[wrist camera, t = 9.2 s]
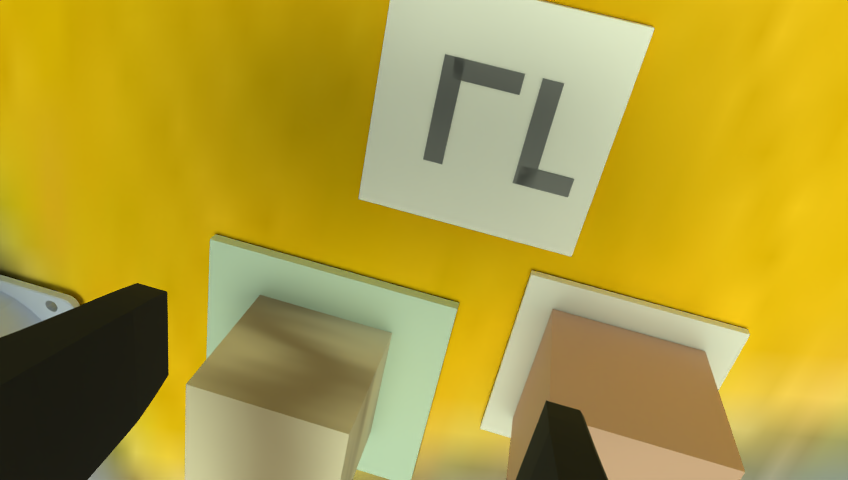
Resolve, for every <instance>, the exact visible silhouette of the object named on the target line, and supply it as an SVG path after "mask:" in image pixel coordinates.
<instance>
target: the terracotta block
mask: <svg viewBox="0 0 848 480" xmlns="http://www.w3.org/2000/svg"><path fill="white" fill-rule="evenodd" d="M546 401H550V402H553V403H557V404H560V405H564V406H567V407H571V408H574V409H578V410H580V411H581V412H582V414H583V416H584V418H585V421H586V424H587V426H588V429H589V432H590V435H591V437H592V440H593V443H594V445H595V448H596V450H597V453H598V456H599V458H600V461H601V463H602V466H603V468H604V470H605V473H606V475H607V478H608V480H740V479H741V478H742V476H743V475H744V473H745V470H744V467H743V464H742V461H741V458H740V455H739V452H738V449H737V446H736V443H735V440H734V437H733V434H732V431H731V428H730V425H729V422H728V419H727V416H726V413H725V410H724V407H723V404H722V401H721V398H720V395H719V392H718V389H717V385H716V382H715V379H714V376H713V373H712V370H711V367H710V364H709V361H708V358H707V355H706V352H705V351H702V350H698V349H695V348H691V347H688V346H684V345H680V344H677V343H673V342H670V341H666V340H662V339H659V338H655V337H652V336H648V335H645V334H641V333H637V332H634V331H630V330H627V329H623V328H619V327H616V326H612V325H609V324H605V323H602V322H598V321H594V320H591V319H587V318H584V317H580V316H576V315H573V314H569V313H566V312H562V311H559V310H555V309H552V312H551V315H550V318H549V320H548V323H547V326H546V329H545V331H544V334H543V337H542V340H541V342H540V345H539V348H538V351H537V353H536V356H535V359H534V362H533V364H532V367H531V370H530V372H529V375H528V378H527V381H526V383H525V386H524V389H523V392H522V394H521V397H520V400H519V403H518V405H517V408H516V411H515V414H514V416H513V421H512V431H511V440H510V450H509V459H508V469H507V478H506V480H516V477H517V474H518V472H519V469H520V467H521V464H522V462H523V459H524V456H525V454H526V451H527V449H528V446H529V443H530V441H531V438H532V436H533V433H534V430H535V428H536V425H537V423H538V420H539V417H540V415H541V412H542V410H543V407H544V404H545V402H546Z"/></svg>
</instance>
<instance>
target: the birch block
mask: <svg viewBox="0 0 848 480" xmlns="http://www.w3.org/2000/svg"><path fill="white" fill-rule="evenodd" d="M391 336H392V333H390V332H387V331H383V330H380V329H376V328H373V327H370V326H366V325H363V324H359V323H356V322H352V321H349V320H346V319H342V318H339V317H335V316H332V315H328V314H325V313H321V312H318V311H315V310H311V309H308V308H304V307H301V306H297V305H294V304H291V303H287V302H284V301H280V300H277V299H273V298H270V297H267V296H263V295H259V297H258V298H257V299H256V300H255V301H254V303H253V304H252V305H251V306H250V308H249V309H248V310H247V311H246V312H245V314H244V315H243V316H242V317H241V318H240V320H239V321H238V322H237V323H236V324H235V326H234V327H233V328H232V329H231V331H230V332H229V333H228V334H227V335H226V337H225V338H224V339H223V340H222V341H221V343H220V344H219V345H218V346H217V347H216V349H215V350H214V351H213V352H212V354H211V355H210V356H209V357H208V358H207V360H206V361H205V362H204V363H203V364H202V366H201V367H200V368H199V369H198V371H197V372H196V373H195V374H194V375H193V377H192V378H191V379H190V380H189V381H188V383H187V384H186V430H185V480H353V477H354V474H355V472H356V469H357V467H358V464H359V461H360V459H361V456H362V454H363V451H364V448H365V446H366V443H367V440H368V438H369V435H370V433H371V428H372V424H373V419H374V414H375V410H376V405H377V401H378V396H379V391H380V387H381V382H382V378H383V373H384V368H385V364H386V359H387V355H388V350H389V345H390V341H391Z"/></svg>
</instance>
